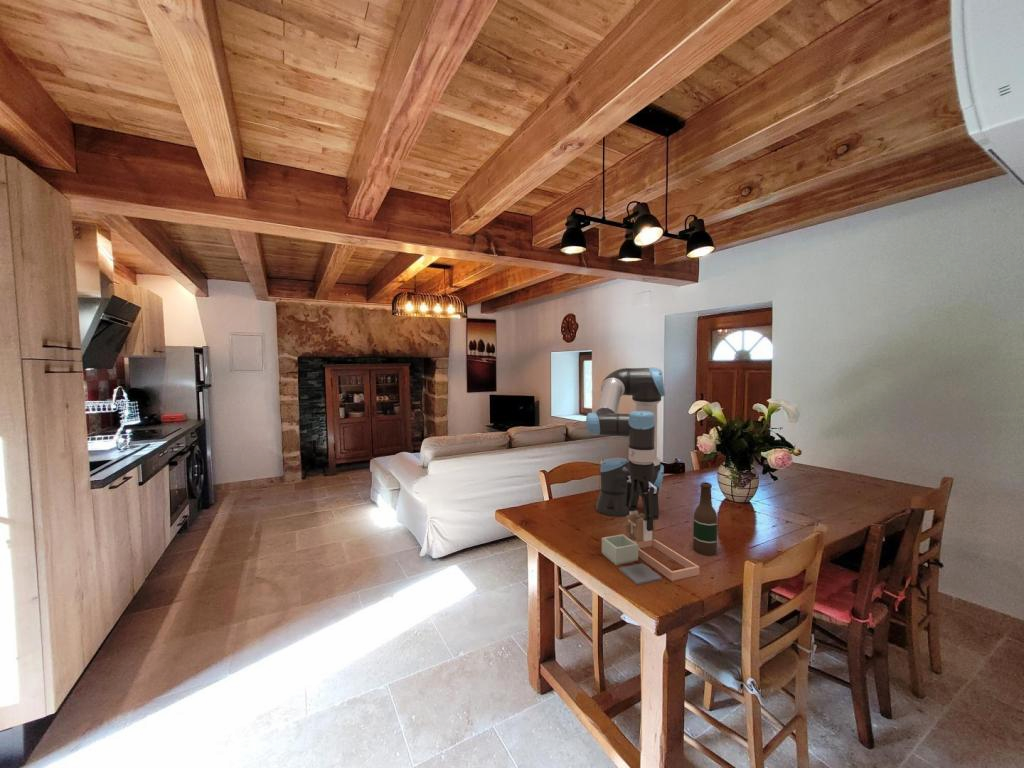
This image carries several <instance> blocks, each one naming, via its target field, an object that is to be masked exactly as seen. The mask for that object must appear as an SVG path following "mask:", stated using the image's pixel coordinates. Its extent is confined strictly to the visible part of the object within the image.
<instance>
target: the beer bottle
mask: <svg viewBox="0 0 1024 768" xmlns="http://www.w3.org/2000/svg"><path fill="white" fill-rule="evenodd" d="M699 487H700V499H699V503H698V504H699V505H698V506H697V507H696V509H695V511H694V513H693V514H694V515H693V529H692V530H693V532H692V533H693V535H692V537H693V538H692V541H693V542H692V543H693V544H692V545H693V546H692V548H693V550H694V551H695V552H696V553H698V554H699V555H703V556H708V557H711V556H716V554H717V550H718V547H717V546H718V515H717V511H716V510H715V509H714V506H713V502H712V483H710V482H706V481H703V482H701V483H700V485H699Z"/></svg>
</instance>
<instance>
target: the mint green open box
mask: <svg viewBox="0 0 1024 768" xmlns="http://www.w3.org/2000/svg"><path fill="white" fill-rule="evenodd" d="M634 541H635V540H632V538H631V539H630V538H629V536H628V537H627V535H625V534H623V533H621V534H616V535H611V536H604V537H601V554H602V555H603V556H604V557H605V558H607V559H608V560H609V561H611V563H613V564H614V566H619V565H624V564H629V563H634V562H639V557H638V544H637V543H635V542H634Z"/></svg>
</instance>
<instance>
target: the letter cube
mask: <svg viewBox="0 0 1024 768" xmlns="http://www.w3.org/2000/svg"><path fill="white" fill-rule="evenodd" d="M625 516H626V522H625V525H626V526H625V529H626V530H625V534H626V536H628V537H630V538H631V539H633V541H637V542H642V541H643V519H644V518H645V514H644V513H643V512H640V513H638V514H632V515H629V514H628V515H625ZM655 536H656V520H653V531H652V540H656V539H655V538H656V537H655Z"/></svg>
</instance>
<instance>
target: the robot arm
mask: <svg viewBox="0 0 1024 768" xmlns="http://www.w3.org/2000/svg"><path fill="white" fill-rule="evenodd" d="M663 376H664V375H663V370H661V368H658V367H656V368H655V367H654V368H653V367H631V368H629V367H628V368H627V367H624V368H619V369H616V370H614V371H611V372H610V373H609V374H608V375H607V376H605V377H604V379H603V380H602V382H601V385H600V391H601V394H600V397H599V400H598V403H597V407H596V410H595V412H593V411H592V412H589V413H587V415H586V419H585V428H586V433H588V434H589V435H595V436H616V437H628V459H627V458H624V457H610V458H606V459H604V460H603V459H602V461H601V463H600V470H599V471H600V483H599V485H600V487H599V488H600V491H599V495H598V498H597V501H596V510H598V511H597V512H599V513H600V512H601V513H600V514H603V515H607V516H611V515H612V516H613V517H623V516H627V515H632V514H639V508H638V504H639V499H640V497H641V501H642V507H643V512H644V513H643V514H645V518H644V519H643V541H649V540H652V531H653V520H655V521H656V520H659V518H660V517H659V515H660V514H659V492H660V490H661V489H662V487H663V486H662V485H663V479H664V471H665V468H664V467H665V466H664V465H663V464H661V460H660V459H659V458H658V457H657V453H658V452H657V451H658V449H657V448H658V447H657V445H658V404H659V403H660V402H661V401H662V398H663V397H665V396H666V393H665V392H666V391H665V384H664V377H663ZM622 396H632V398H631V399H632V402H634V403H635V410H634V411H633V410H632V411H630V412H629V413H618V412H619V408H620V401H621V398H622ZM628 460H629V461H628Z"/></svg>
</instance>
